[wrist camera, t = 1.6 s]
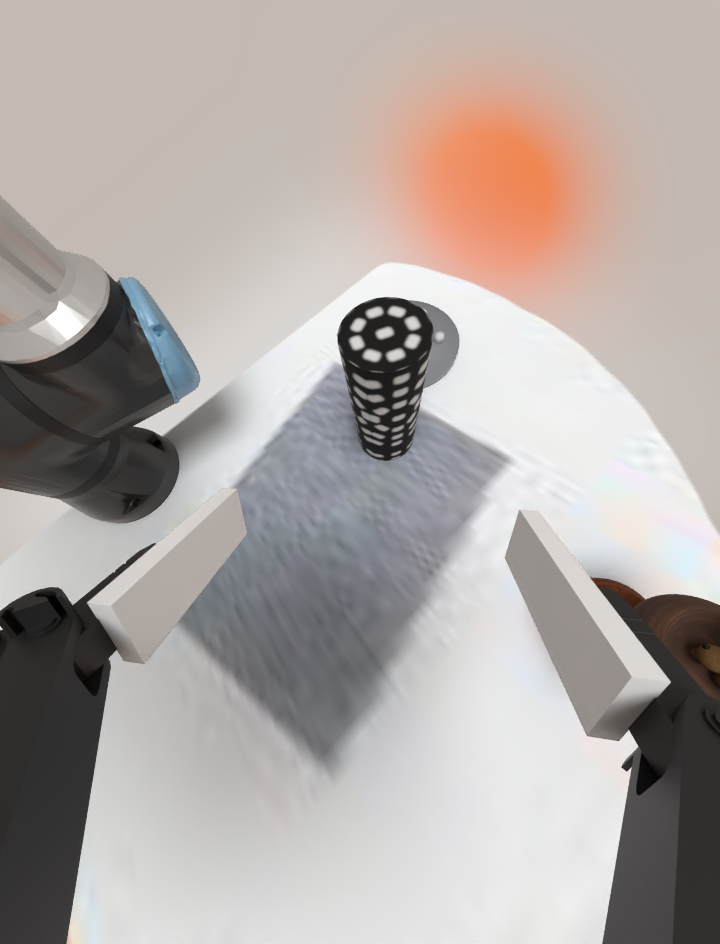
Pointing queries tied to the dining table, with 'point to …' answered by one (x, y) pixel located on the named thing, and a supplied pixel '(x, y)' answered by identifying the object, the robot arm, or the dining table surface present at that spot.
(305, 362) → the dining table surface
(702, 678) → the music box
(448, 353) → the stub plate
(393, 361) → the white-spotted black cylinder
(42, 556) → the dining table surface
